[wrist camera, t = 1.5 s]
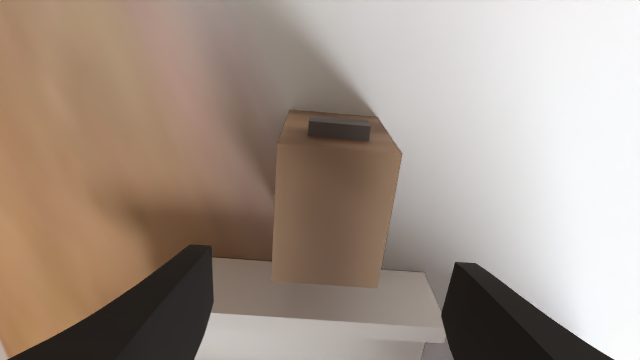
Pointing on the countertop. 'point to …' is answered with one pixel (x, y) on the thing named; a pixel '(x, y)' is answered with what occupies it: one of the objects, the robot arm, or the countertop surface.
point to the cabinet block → (333, 199)
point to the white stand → (317, 317)
